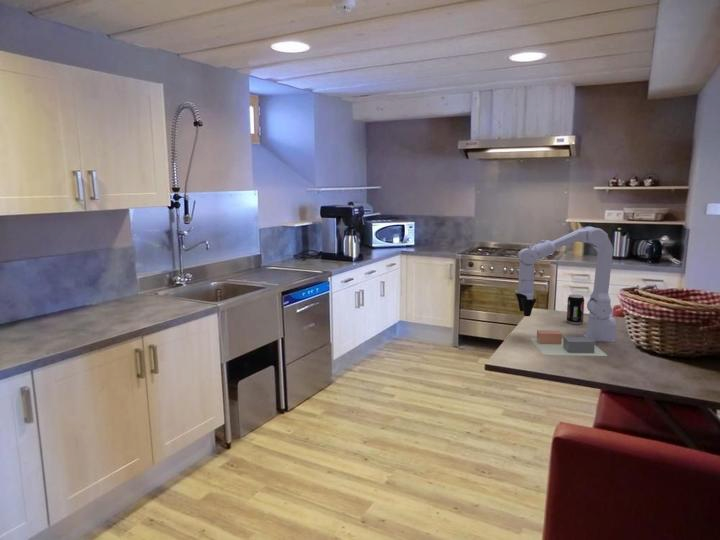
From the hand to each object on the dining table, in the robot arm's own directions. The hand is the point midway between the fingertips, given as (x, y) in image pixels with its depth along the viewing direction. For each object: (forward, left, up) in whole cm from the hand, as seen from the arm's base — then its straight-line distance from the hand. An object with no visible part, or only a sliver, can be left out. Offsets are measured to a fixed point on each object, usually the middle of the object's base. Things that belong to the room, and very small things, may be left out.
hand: (524, 313), depth 199 cm
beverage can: (-27, -24, -10) cm, 38 cm away
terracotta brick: (-8, +6, -10) cm, 14 cm away
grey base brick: (-16, +15, -10) cm, 24 cm away
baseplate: (-13, +11, -10) cm, 20 cm away
